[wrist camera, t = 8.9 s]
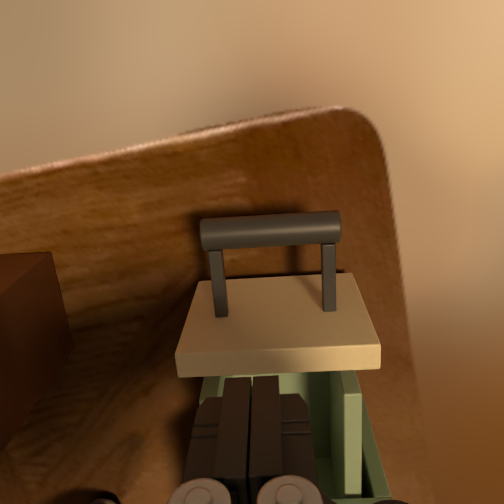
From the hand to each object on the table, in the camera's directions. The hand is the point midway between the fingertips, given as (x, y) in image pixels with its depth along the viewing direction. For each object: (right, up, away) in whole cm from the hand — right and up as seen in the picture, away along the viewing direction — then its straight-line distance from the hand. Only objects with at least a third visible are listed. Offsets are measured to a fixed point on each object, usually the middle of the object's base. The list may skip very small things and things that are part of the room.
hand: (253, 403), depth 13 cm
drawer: (+1, -1, +14) cm, 14 cm away
